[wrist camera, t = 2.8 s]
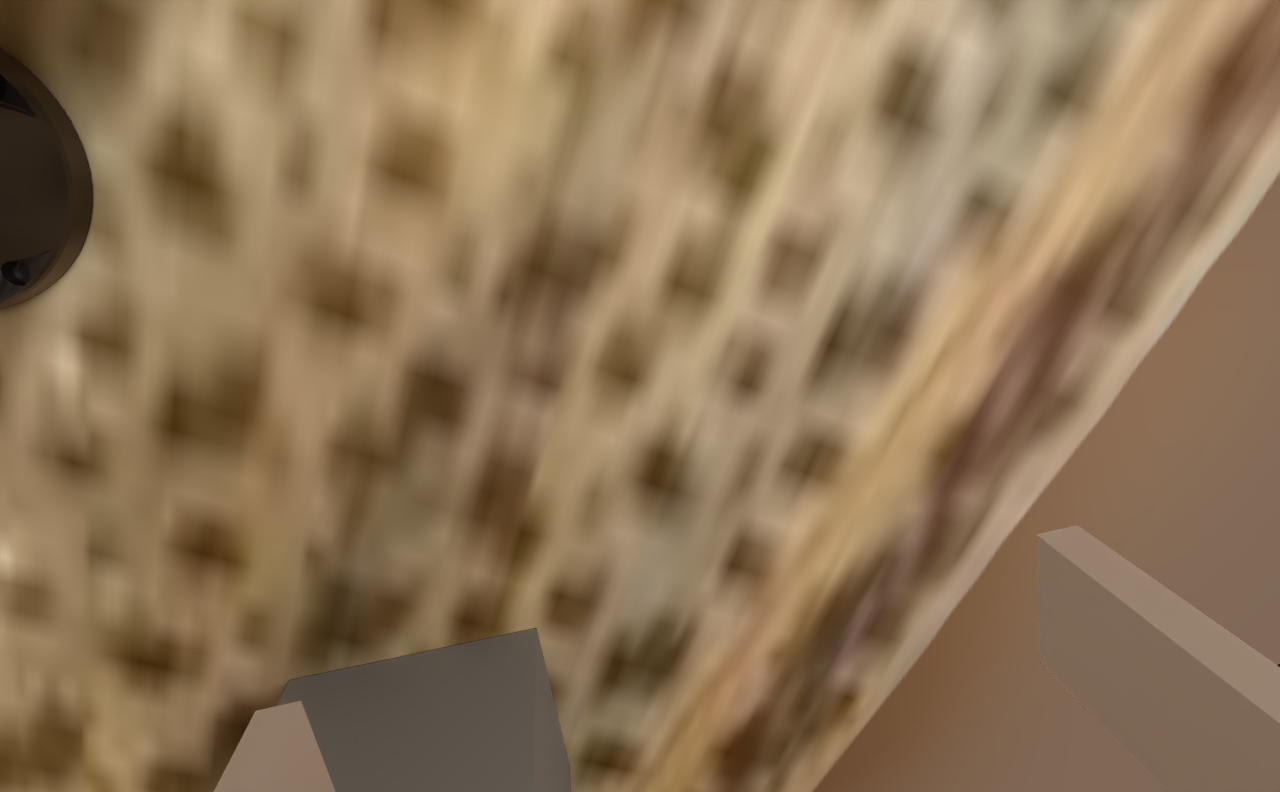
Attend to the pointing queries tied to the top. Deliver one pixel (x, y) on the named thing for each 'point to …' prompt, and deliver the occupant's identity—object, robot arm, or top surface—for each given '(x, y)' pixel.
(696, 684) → the top surface
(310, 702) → the slate podium
